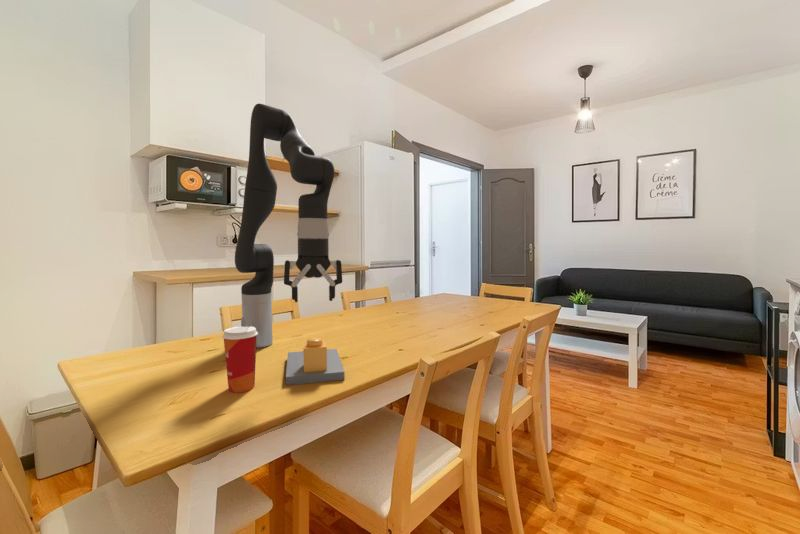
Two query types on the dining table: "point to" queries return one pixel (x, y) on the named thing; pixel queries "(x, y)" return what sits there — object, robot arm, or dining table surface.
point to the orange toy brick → (315, 355)
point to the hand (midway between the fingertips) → (313, 301)
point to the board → (298, 375)
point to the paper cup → (240, 357)
